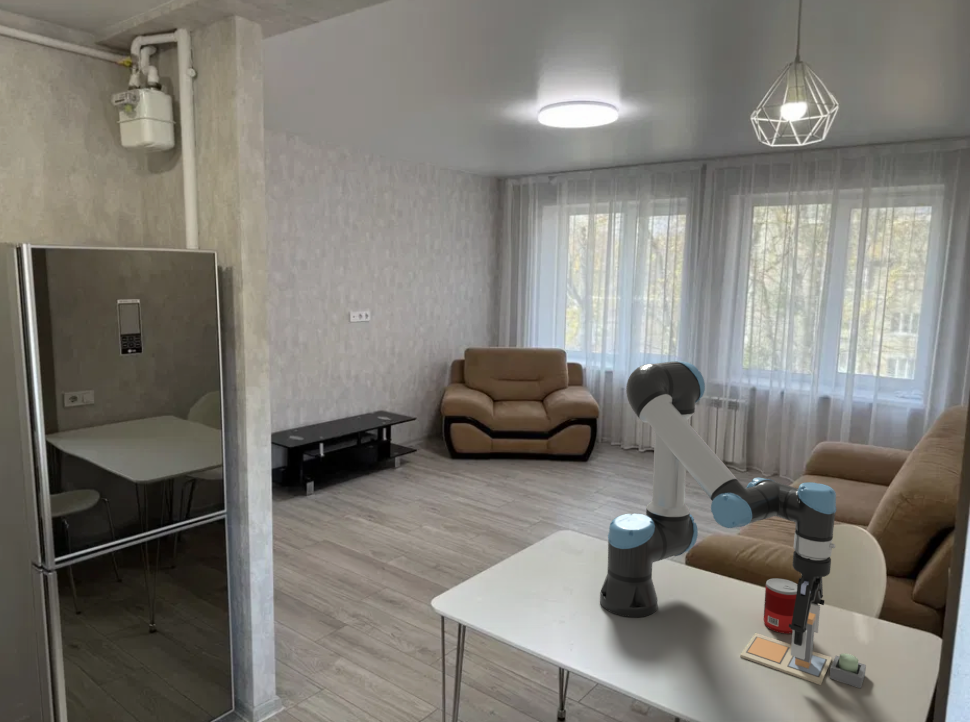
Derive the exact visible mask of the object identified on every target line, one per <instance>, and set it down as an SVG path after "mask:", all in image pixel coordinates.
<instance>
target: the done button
mask: <svg viewBox="0 0 970 722" xmlns="http://www.w3.org/2000/svg"><path fill="white" fill-rule="evenodd" d="M839 656H840V659H839V669H842V670H846V671H849V672H852V673H855V674H857V670H858V663H859V659H858V658H857V656H854V655H853V654H850V653H841V654H839Z"/></svg>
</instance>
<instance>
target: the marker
mask: <svg viewBox="0 0 970 722" xmlns="http://www.w3.org/2000/svg"><path fill="white" fill-rule="evenodd" d="M815 617H816V614H813V613H809V617H808V621H807V626H806V630H807V638H806V650H805V659H804V660H803V659H800V658H797V657H795V664H796V665H799V666H802V667H805V668H808V669H809V666H810V664H811V659H812V653H813V652H814V650H813V649H814V648H813V647H814V639H815V637H814V636H815V632H814V627H815Z"/></svg>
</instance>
